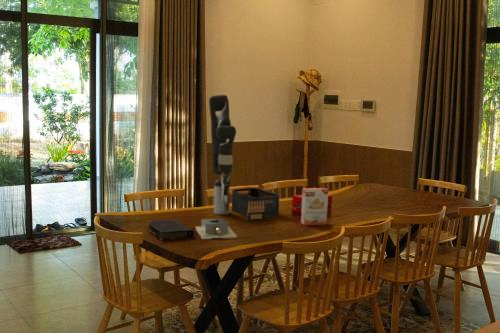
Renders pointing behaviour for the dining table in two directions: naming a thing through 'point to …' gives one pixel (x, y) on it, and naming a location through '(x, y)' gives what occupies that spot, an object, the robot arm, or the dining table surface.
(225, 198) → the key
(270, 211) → the storage bin
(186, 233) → the diary
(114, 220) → the dining table surface
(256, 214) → the ammunition clip
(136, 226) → the dining table surface
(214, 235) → the grey stand
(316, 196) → the cracker box
